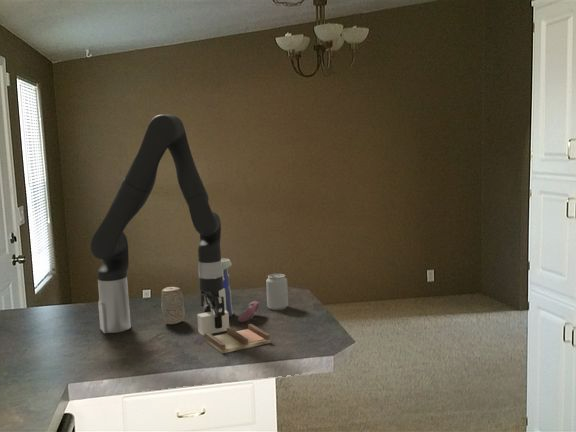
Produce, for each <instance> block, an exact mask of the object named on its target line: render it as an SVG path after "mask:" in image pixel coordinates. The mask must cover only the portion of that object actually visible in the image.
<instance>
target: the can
mask: <svg viewBox="0 0 576 432" xmlns="http://www.w3.org/2000/svg"><path fill="white" fill-rule="evenodd" d="M267 277H268V278H267V279H266V280H265V281H266V282H265V284H266V286H265V287H266V306H267V308H268V309H269V310H272V311H283V310H285V309H287V307H288V306H289V296H288V295H289V294H288V293H289V292H288V289H289V288H288V278H286V275H285V274H283V273H272V274H269V275H267Z"/></svg>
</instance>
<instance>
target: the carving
mask: <svg viewBox="0 0 576 432" xmlns="http://www.w3.org/2000/svg"><path fill="white" fill-rule="evenodd" d="M160 299H161V301H160V302H161V303H160V305H161V312H162V317H163V319H164V323H165V324H166V325H176V324H179V323H182V322H183V321H184V319H185V316H186V315H185V304H184V297H183V292H182V290H181V288H180V287H177V286H169V287H168V286H167V287H165V288H163V289H162V290H161V298H160Z"/></svg>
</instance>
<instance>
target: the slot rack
mask: <svg viewBox="0 0 576 432" xmlns="http://www.w3.org/2000/svg"><path fill="white" fill-rule="evenodd" d="M204 341H205V342H206V343H208V344H209V345H210V346H211V347H213V348H214V349H215V350H216V351H218V352H219V353H220V354H227V353H231V352H234V351H236V352H237V351H240V350H245V349H249V348H254V347H257V346H261V345H268V344H270V343H271V335H270V333H268V332H266V331H265V330H263V329H261V328H259V327H257V326H256V325H254V324H252V323H249V324H247V328H246V329H242V330H237V331H236V330H234V329H233V328H231V327H229V328H227V331H226V333H222V334H217V335H213V333H212V334H210V333H209V332H208V333H205V335H204Z"/></svg>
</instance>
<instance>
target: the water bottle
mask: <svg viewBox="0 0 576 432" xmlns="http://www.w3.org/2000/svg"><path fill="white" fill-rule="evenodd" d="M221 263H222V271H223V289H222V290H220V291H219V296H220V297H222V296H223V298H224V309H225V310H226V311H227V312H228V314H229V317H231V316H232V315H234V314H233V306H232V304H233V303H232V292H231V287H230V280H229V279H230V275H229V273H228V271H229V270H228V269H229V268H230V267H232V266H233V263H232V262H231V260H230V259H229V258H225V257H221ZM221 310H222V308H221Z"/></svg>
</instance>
